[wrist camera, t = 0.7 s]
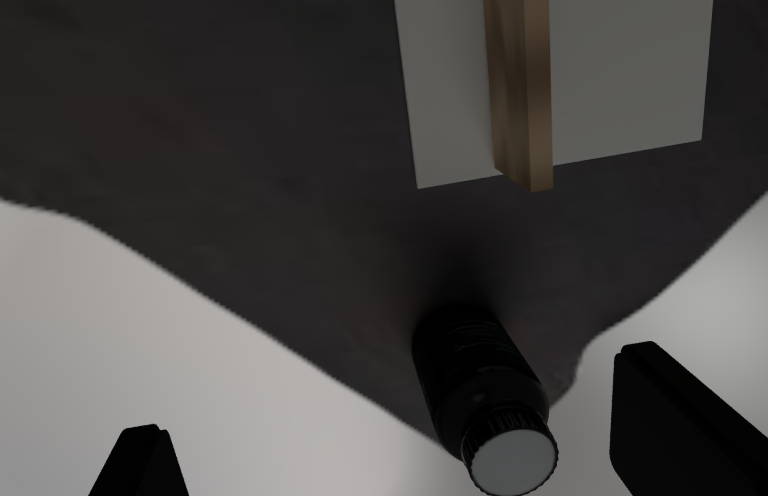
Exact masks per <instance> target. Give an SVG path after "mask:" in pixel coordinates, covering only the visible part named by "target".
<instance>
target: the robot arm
mask: <svg viewBox="0 0 768 496" xmlns="http://www.w3.org/2000/svg"><path fill="white" fill-rule="evenodd" d="M609 451H610V452H609V453H610V460H611V463H612V466H613V468H614V470H615V472H616V473H617V474H618V476H619V477H620V479H621V480H622V481H623V483H624V484H625V486H626V487H627V488H628V490H629V491H630V493H631V494H632V495H633V496H768V438H767V437H766V436H765V435H764V434H762V433H761V432H760V431H759V430H758V429H756V428H755V427H754V426H753V425H752V424H751V423H749V422H748V421H747V420H746V419H745V418H744V417H742V416H741V415H740V414H739V413H738V412H736V411H735V410H734V409H733V408H732V407H730V406H729V405H728V404H727V403H726V402H725V401H723V400H722V399H721V398H720V397H719V396H718V395H716V394H715V393H714V392H713V391H712V390H711V389H709V388H708V387H707V386H706V385H704V384H703V383H702V382H701V381H700V380H699V379H697V378H696V377H695V376H694V375H693V374H692V373H690V372H689V371H688V370H687V369H686V368H685V367H683V366H682V365H681V364H680V363H679V362H678V361H676V360H675V359H674V358H673V357H672V356H670V355H669V354H668V353H667V352H666V351H664V350H663V349H662V348H661V347H660V346H659V345H657V344H656V343H655V342H653V341H646V342H641V343H635V344H629V345H625V346H623V347H622V349H621V353H618V354H616V355H615V358H614V373H613V394H612V412H611V431H610V450H609ZM88 496H189V494H188V491H187V488H186V485H185V482H184V478H183V475H182V473H181V469H180V466H179V463H178V460H177V457H176V454H175V451H174V448H173V444H172V441H171V438H170V435H169V433H168V431H167V430H160V429H159V427H158V426H157V425H156V424H150V425H143V426H138V427H132V428H126V429H124V430H123V431H122V433H121V434H120V436H119V438H118V440H117V442H116V444H115V446H114V447H113V449H112V451H111V453H110V455H109V457H108V459H107V461H106V463H105V465H104V466H103V468H102V470H101V472H100V474H99V476H98V478H97V480H96V482H95V484H94V486H93V487H92V490H91V491H90V493H89V495H88Z"/></svg>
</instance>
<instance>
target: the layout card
mask: <svg viewBox="0 0 768 496" xmlns="http://www.w3.org/2000/svg"><path fill="white" fill-rule="evenodd" d="M394 5H395V13H396V21H397V29H398V37H399V45H400V54H401V62H402V70H403V78H404V86H405V94H406V102H407V111H408V119H409V127H410V135H411V143H412V151H413V160H414V168H415V176H416V184H417V188H418V189H420V188H426V187H432V186H437V185H443V184H449V183H455V182H461V181H466V180H472V179H478V178H484V177H490V176H495V175H501V174H503V173H501V172H500V171H498V170H497V169H495V168H494V153H493V138H492V123H491V107H490V92H489V76H488V61H487V45H486V30H485V14H484V0H394ZM712 6H713V0H549V19H550V64H551V108H552V153H553V165H559V164H565V163H571V162H576V161H582V160H588V159H594V158H599V157H605V156H611V155H617V154H623V153H628V152H634V151H640V150H646V149H651V148H657V147H663V146H669V145H675V144H680V143H686V142H692V141H698V140H701V138H702V126H703V114H704V102H705V90H706V78H707V66H708V54H709V42H710V30H711V18H712Z"/></svg>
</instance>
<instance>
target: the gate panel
mask: <svg viewBox="0 0 768 496" xmlns="http://www.w3.org/2000/svg"><path fill="white" fill-rule="evenodd" d="M484 14H485V30H486V45H487V61H488V76H489V92H490V107H491V123H492V138H493V153H494V168H495V169H497V170H498V171H500V172H501V173H503V174H504V175H506V176H507V177H509V178H510V179H512V180H513V181H515V182H516V183H518V184H519V185H521V186H522V187H524V188H525V189H527V190H528V191H530V192H536V191H542V190H548V189H553V153H552V108H551V64H550V19H549V0H484Z"/></svg>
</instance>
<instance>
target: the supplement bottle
mask: <svg viewBox="0 0 768 496" xmlns="http://www.w3.org/2000/svg"><path fill="white" fill-rule="evenodd" d="M412 357H413V361H414V365H415V369H416V372H417V375H418V378H419V381H420V385H421V388H422V391H423V394H424V397H425V400H426V404H427V407H428V410H429V413H430V416H431V420H432V423H433V426H434V429H435V432H436V434H437V437H438V439H439V441H440V443H441V444H442V446H443V447H444V448H445V449H446V450H447V451H448V452H449V453H450V454H451V455H452V456H454V457H455V458H457V459H458V460H460V461H462V462H463V463H464V465H465V466H466V468H467V469H468V472H469V475H470V477H471V479H472V481H473V482H474V484H475V486H476V487H478V488H479V489H480V490H481V491H482V492H485V493H486V494H487V495H491V496H522V495H525V494H528V493H530V492H531V491H534V490H536V489H537V488H538V487H540V486H542V485H543V484H544V482H545V481H547V480H548V479H549V478H550V476H551V475H552V474H553V473H554V469H555V468H556V466H557V461H558V453H559V451H558V448H557V443H556V441H555V439H554V437H553V435H552V434H551V432H550V430H549V428H548V425H547V422H548V417H549V402H548V398H547V394H546V392H545V389H544V388H543V386H542V384H541V382H540V381H539V379H538V378H537V376H536V375H535V373H534V372H533V370H532V369H531V367H530V366H529V364H528V363H527V361H526V360H525V359H524V357H523V356H522V354H521V353H520V351H519V350H518V348H517V347H516V345H515V344H514V342H513V341H512V339H511V338H510V336H509V335H508V333H507V332H506V330H505V329H504V328H503V326H502V325H501V323H500V322H499V321H498V319H497V318H496V317H495V316H494V315H493V314H492V313H491V312H489V311H488V310H486V309H484V308H482V307H480V306H477V305H474V304H467V303H458V304H452V305H448V306H445V307H442V308H440V309H438V310H436V311H435V312H433V313H432V314H430V315H429V316H428V317H427V318H426V319H425V320H424V321H423V322H422V323H421V324H420V326H419V327H418V329H417V331H416V333H415V335H414V339H413V343H412Z"/></svg>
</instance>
